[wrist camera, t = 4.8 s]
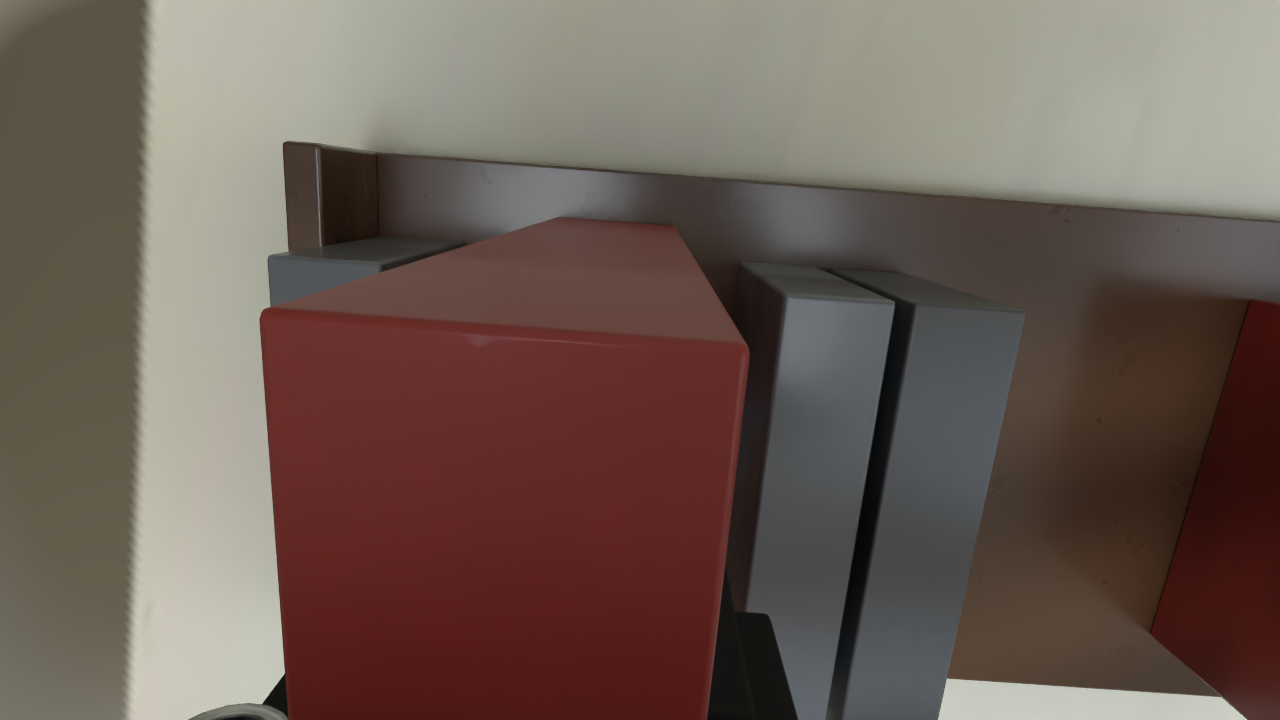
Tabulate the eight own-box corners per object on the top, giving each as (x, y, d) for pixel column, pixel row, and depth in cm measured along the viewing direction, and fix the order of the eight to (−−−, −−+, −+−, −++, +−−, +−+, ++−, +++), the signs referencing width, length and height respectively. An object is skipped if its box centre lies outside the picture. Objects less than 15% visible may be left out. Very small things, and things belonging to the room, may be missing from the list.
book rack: (361, 151, 17) (195, 127, 11) (1416, 231, 18) (1852, 254, 11) (374, 619, 21) (254, 808, 14) (1258, 679, 21) (1526, 891, 15)
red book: (555, 216, 17) (252, 308, 4) (675, 225, 17) (753, 344, 4) (540, 602, 19) (333, 1375, 7) (643, 610, 19) (628, 1397, 7)
